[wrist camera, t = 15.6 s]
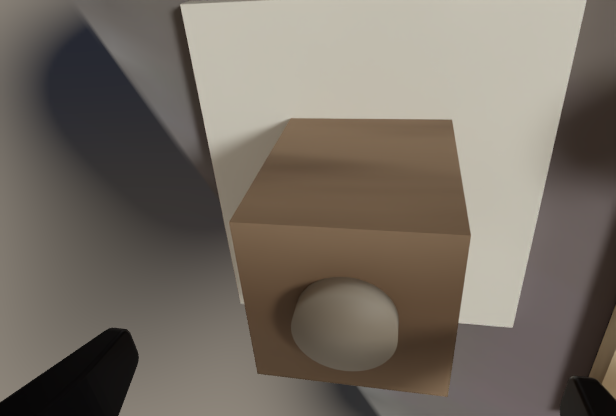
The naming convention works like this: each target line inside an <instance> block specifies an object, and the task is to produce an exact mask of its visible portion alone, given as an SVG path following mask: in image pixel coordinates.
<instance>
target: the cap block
mask: <svg viewBox="0 0 616 416" xmlns="http://www.w3.org/2000/svg"><path fill="white" fill-rule="evenodd" d="M229 225H230V230H231V236H232V241H233V246H234V252H235V257H236V262H237V267H238V273H239V278H240V283H241V288H242V294H243V299H244V304H245V309H246V315H247V320H248V325H249V330H250V336H251V340H252V346H253V352H254V357H255V362H256V367H257V373H258V374H264V375H273V376H281V377H290V378H298V379H305V380H314V381H322V382H330V383H338V384H346V385H355V386H363V387H371V388H379V389H387V390H396V391H404V392H412V393H420V394H428V395H437V396H445V397H448V391H449V384H450V377H451V370H452V363H453V356H454V349H455V342H456V336H457V329H458V322H459V315H460V308H461V301H462V294H463V287H464V280H465V273H466V267H467V260H468V253H469V246H470V239H471V233H470V226H469V220H468V214H467V208H466V202H465V196H464V190H463V184H462V178H461V171H460V165H459V159H458V153H457V147H456V141H455V135H454V129H453V123H452V120H444V119H330V118H290V120H289V122H288V123H287V125H286V127H285V128H284V130H283V132H282V134H281V135H280V137H279V139H278V140H277V142H276V144H275V145H274V147H273V149H272V150H271V152H270V154H269V155H268V157H267V159H266V160H265V162H264V164H263V166H262V167H261V169H260V171H259V172H258V174H257V176H256V177H255V179H254V181H253V182H252V184H251V186H250V187H249V189H248V191H247V192H246V194H245V196H244V198H243V199H242V201H241V203H240V204H239V206H238V208H237V209H236V211H235V213H234V214H233V216H232V218H231V219H230V221H229Z"/></svg>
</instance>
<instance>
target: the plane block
mask: <svg viewBox="0 0 616 416" xmlns="http://www.w3.org/2000/svg"><path fill="white" fill-rule="evenodd" d="M589 377H591V378H595V379H596V380H598V381H599V382H600V383H601V384H602V385H603V386H604V387H605V388H606V389H607V390H608V391H609V393H610V394H611V395H612V396H613V397H614V398H615V399H616V305H615V308H614V311H613V313H612V316H611V319H610V321H609V324H608V327H607V329H606V332H605V335H604V337H603V340H602V343H601V345H600V348H599V351H598V353H597V356H596V358H595V361H594V364H593V366H592V369H591V372H590V374H589Z"/></svg>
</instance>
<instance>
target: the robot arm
mask: <svg viewBox="0 0 616 416" xmlns="http://www.w3.org/2000/svg"><path fill="white" fill-rule="evenodd" d="M138 359H139V356H138V351H137V349H136V346H135V344H134V341H133V339H132V336H131V334H130V332H129V331H128V330H127V329H119V328H109V329H108V330H106V331H104V332H103V333H101V334H100V335H98V336H97V337H95V338H94V339H92V340H91V341H89V342H88V343H87V344H85V345H83V346H82V347H81V348H79V349H78V350H76V351H75V352H73V353H72V354H70V355H69V356H67V357H66V358H64V359H63V360H62V361H60V362H59V363H57V364H56V365H54V366H53V367H51V368H50V369H49V370H47V371H45V372H44V373H42V374H41V375H40V376H38V377H37V378H35V379H34V380H32V381H31V382H29V383H28V384H26V385H25V386H24V387H22V388H21V389H19V390H18V391H16V392H15V393H13V394H12V395H10V396H9V397H7V398H6V399H4V400H3V401H1V402H0V416H118V415H119V412H120V410H121V407H122V405H123V402H124V399H125V397H126V394H127V391H128V389H129V386H130V383H131V381H132V378H133V375H134V373H135V370H136V367H137V364H138ZM560 416H616V399H615V398H614V397H613V396H612V395H611V394H610V393H609V391H608V390H607V389H606V388H605V387H604V386H603V385H602V384H601V383H600V382H599V381H598V380H596V379H595V378H591V377H582V376H572V377H570V378H569V380H568V383H567V386H566V389H565V392H564V394H563V397H562V400H561V404H560Z"/></svg>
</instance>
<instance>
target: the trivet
mask: <svg viewBox="0 0 616 416" xmlns="http://www.w3.org/2000/svg"><path fill="white" fill-rule="evenodd" d="M585 5H586V0H199V1H187V2H185V3H182V4H180V6H181V11H182V16H183V21H184V26H185V31H186V36H187V41H188V46H189V51H190V56H191V61H192V66H193V71H194V75H195V80H196V85H197V90H198V95H199V100H200V105H201V110H202V115H203V120H204V125H205V130H206V135H207V140H208V145H209V150H210V155H211V160H212V165H213V170H214V175H215V180H216V184H217V189H218V194H219V199H220V204H221V209H222V214H223V219H224V224H225V229H226V234H227V239H228V244H229V249H230V254H231V259H232V264H233V268H234V273H235V279H236V283H237V289H238V293H239V298H240V303H241V304H244V299H243V294H242V288H241V283H240V278H239V273H238V267H237V262H236V257H235V252H234V246H233V241H232V236H231V230H230V225H229V221H230V219H231V218H232V216H233V214H234V213H235V211H236V209H237V208H238V206H239V204H240V203H241V201H242V199H243V198H244V196H245V194H246V192H247V191H248V189H249V187H250V186H251V184H252V182H253V181H254V179H255V177H256V176H257V174H258V172H259V171H260V169H261V167H262V166H263V164H264V162H265V160H266V159H267V157H268V155H269V154H270V152H271V150H272V149H273V147H274V145H275V144H276V142H277V140H278V139H279V137H280V135H281V134H282V132H283V130H284V128H285V127H286V125H287V123H288V122H289V120H290V118H330V119H444V120H452V123H453V129H454V135H455V141H456V147H457V153H458V159H459V165H460V171H461V178H462V184H463V190H464V196H465V202H466V208H467V214H468V220H469V226H470V233H471V239H470V246H469V253H468V260H467V267H466V273H465V280H464V287H463V294H462V301H461V308H460V315H459V322H458V323H465V324H476V325H488V326H499V327H510V328H513V324H514V319H515V315H516V310H517V306H518V302H519V297H520V293H521V288H522V284H523V279H524V275H525V271H526V266H527V262H528V257H529V253H530V248H531V244H532V240H533V235H534V231H535V226H536V222H537V217H538V213H539V209H540V204H541V200H542V195H543V191H544V186H545V182H546V178H547V173H548V169H549V164H550V160H551V155H552V151H553V147H554V142H555V138H556V133H557V129H558V124H559V120H560V116H561V111H562V107H563V102H564V98H565V93H566V89H567V85H568V80H569V76H570V71H571V67H572V62H573V58H574V54H575V49H576V45H577V40H578V36H579V31H580V27H581V23H582V18H583V14H584V9H585Z"/></svg>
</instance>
